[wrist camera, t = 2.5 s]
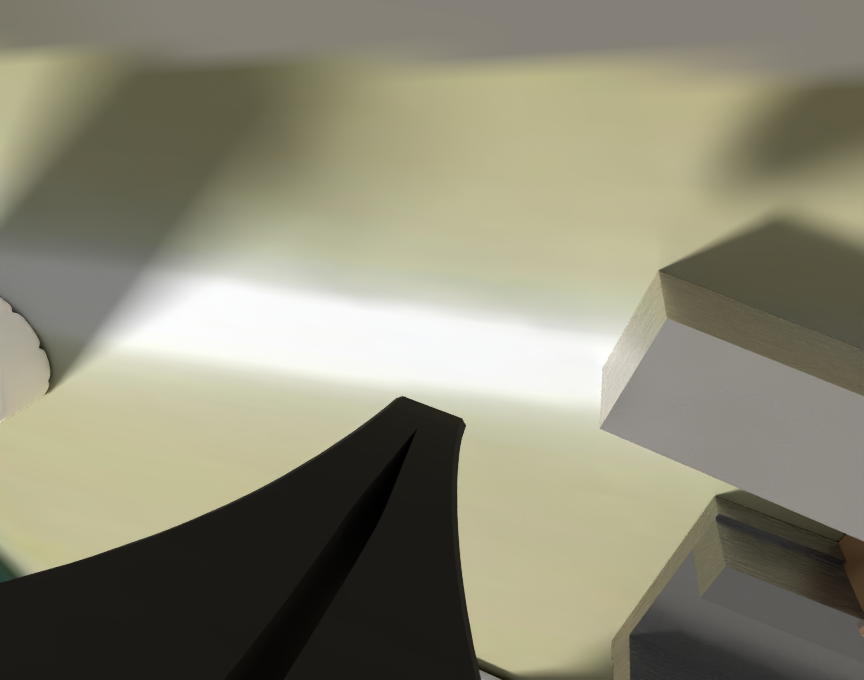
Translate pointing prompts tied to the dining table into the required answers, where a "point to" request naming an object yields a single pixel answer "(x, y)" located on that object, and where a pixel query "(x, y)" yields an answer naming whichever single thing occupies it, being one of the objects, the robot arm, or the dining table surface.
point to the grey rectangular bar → (742, 400)
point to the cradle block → (745, 607)
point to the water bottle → (20, 364)
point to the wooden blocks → (854, 566)
